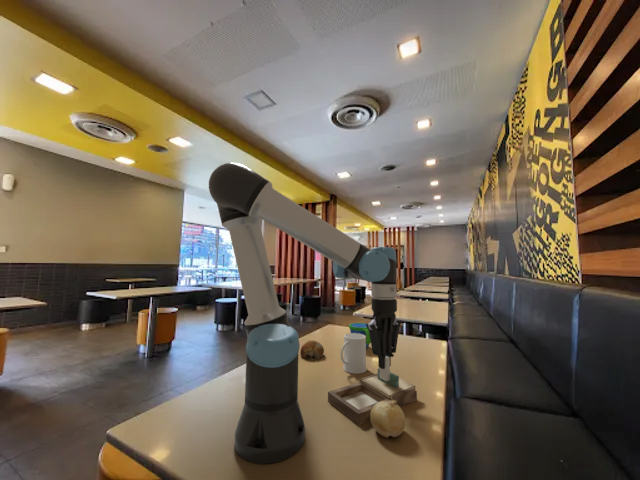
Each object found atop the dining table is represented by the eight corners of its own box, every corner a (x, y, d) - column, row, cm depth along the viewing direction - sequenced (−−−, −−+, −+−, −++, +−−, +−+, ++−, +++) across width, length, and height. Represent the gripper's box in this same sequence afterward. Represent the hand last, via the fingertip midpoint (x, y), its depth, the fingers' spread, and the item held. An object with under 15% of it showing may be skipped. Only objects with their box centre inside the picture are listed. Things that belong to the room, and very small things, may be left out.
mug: (347, 378, 90) (348, 341, 91) (331, 370, 97) (332, 336, 98) (371, 370, 97) (371, 336, 98) (354, 363, 104) (354, 331, 105)
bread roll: (325, 364, 111) (330, 345, 115) (313, 360, 104) (318, 339, 107) (306, 360, 117) (311, 341, 120) (293, 355, 109) (299, 335, 113)
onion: (401, 448, 56) (400, 413, 57) (365, 436, 60) (365, 403, 60) (408, 428, 63) (408, 397, 63) (376, 418, 67) (376, 389, 67)
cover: (389, 398, 71) (389, 383, 72) (361, 382, 80) (361, 369, 81) (415, 388, 77) (415, 374, 78) (386, 374, 86) (386, 362, 87)
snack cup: (344, 342, 130) (344, 321, 131) (364, 341, 133) (364, 321, 134) (355, 353, 115) (355, 329, 116) (378, 351, 117) (377, 328, 118)
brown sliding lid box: (358, 424, 64) (358, 409, 64) (327, 401, 75) (328, 388, 75) (416, 400, 76) (416, 387, 76) (382, 383, 87) (382, 371, 87)
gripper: (377, 300, 74) (378, 389, 72) (408, 298, 81) (409, 378, 79) (359, 297, 80) (359, 379, 78) (389, 295, 87) (390, 370, 85)
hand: (384, 378), depth 78 cm, fingers closed
